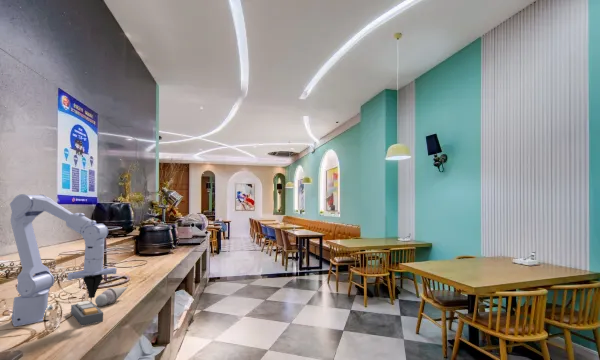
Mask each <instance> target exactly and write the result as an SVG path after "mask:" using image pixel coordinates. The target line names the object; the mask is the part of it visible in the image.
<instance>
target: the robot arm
mask: <svg viewBox="0 0 600 360" xmlns="http://www.w3.org/2000/svg"><path fill="white" fill-rule="evenodd" d="M9 205H10V210H11V214H10V215H11V216H10V224H11V228H12V233H13V236H14V241H15V244H16V248H17V252H18V257H19V260H20V264H21V268H22V270H21V271H20V273H18V275H17V277H16V278H17V284H16V290H17V292H18V294H19V296H15V297H14V298H13V303H12V304H13V305H12V314H11V322H12V325H13V327H15V328H16V327H20V326H24V325H30V324H34V323H40V322H41V323H42V322H44V321H43V317H44V313H45V310H46V308H47V309H48V305H49V303H48V301H49V292H51V291H50V290H51V289H50V288H52V287H53V286H54V284H55V277H54V275H53V274H52V273H51V271H50V268H49V267H48V266H46V265H44V264H43V262H42V257H41V253H40V249H39V246H38V241H37V239H36V233H35V231H34V226H33V221H34V220H35V219H36V218H37V217H39V216H40V215H41V214H43V213H44V212H46V213H48V214H50V215H52V216H54V217H56V218H58V219H61V220H62V221H64V222H65V225H66V227H67V228H69V229H71V230H72V231H75V232H76V233H78V234H80V235H81V237H82V239H83V240H84V245H85V246H84V247H85V248H84V263H83V270H80V271H75V272H69V273H67V280H69V281H72V280H76V279H83V282H84V284H85V287H86V289H87V293H88V298H89V299H92V298H93V299H94V298H95V296H96V293H97V291H98V288H99V286H100V284H101V283H102V281H103V279H104V276H107V275H116V274H117V269H118V268H116V267H109V268H104V256H105V255H104V253H105V239H106V238H107V236H108V234H109V229H108V226H107V225H105V224H104V223H97V221H96V220H93V219H90V218H88V216H87V217H86V216H85V215H86V214H85V213H83V212H75V213H73V212H71V211H70V210H69V209H67V208H65V207H63V206H62V205H61V204H59V203H57V202H56V201H55V200H53V198H51V197H48V196H47V195H45V194H25V193H23V194H18V195H16V196H15V197H14V198H13V199H12V201H11V202H10V203H9Z"/></svg>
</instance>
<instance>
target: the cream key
mask: <svg viewBox="0 0 600 360" xmlns="http://www.w3.org/2000/svg"><path fill="white" fill-rule="evenodd" d="M90 302H91V301H89V300H84V301H79V302H78V301H77V302H76V304H77V307H78V308H80V306H83V305H88V304H90Z"/></svg>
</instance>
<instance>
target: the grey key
mask: <svg viewBox="0 0 600 360" xmlns="http://www.w3.org/2000/svg"><path fill="white" fill-rule="evenodd" d="M89 308H94V306H93V305H92V304H88V305H83V306H80V310H81V311H83V310H84V309H89Z"/></svg>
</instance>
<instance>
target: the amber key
mask: <svg viewBox="0 0 600 360" xmlns="http://www.w3.org/2000/svg"><path fill="white" fill-rule="evenodd" d="M83 313H84V315H90V314H95V313H98V310H97V309H96V308H95V307H94V308H89V309H84V310H83Z"/></svg>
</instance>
